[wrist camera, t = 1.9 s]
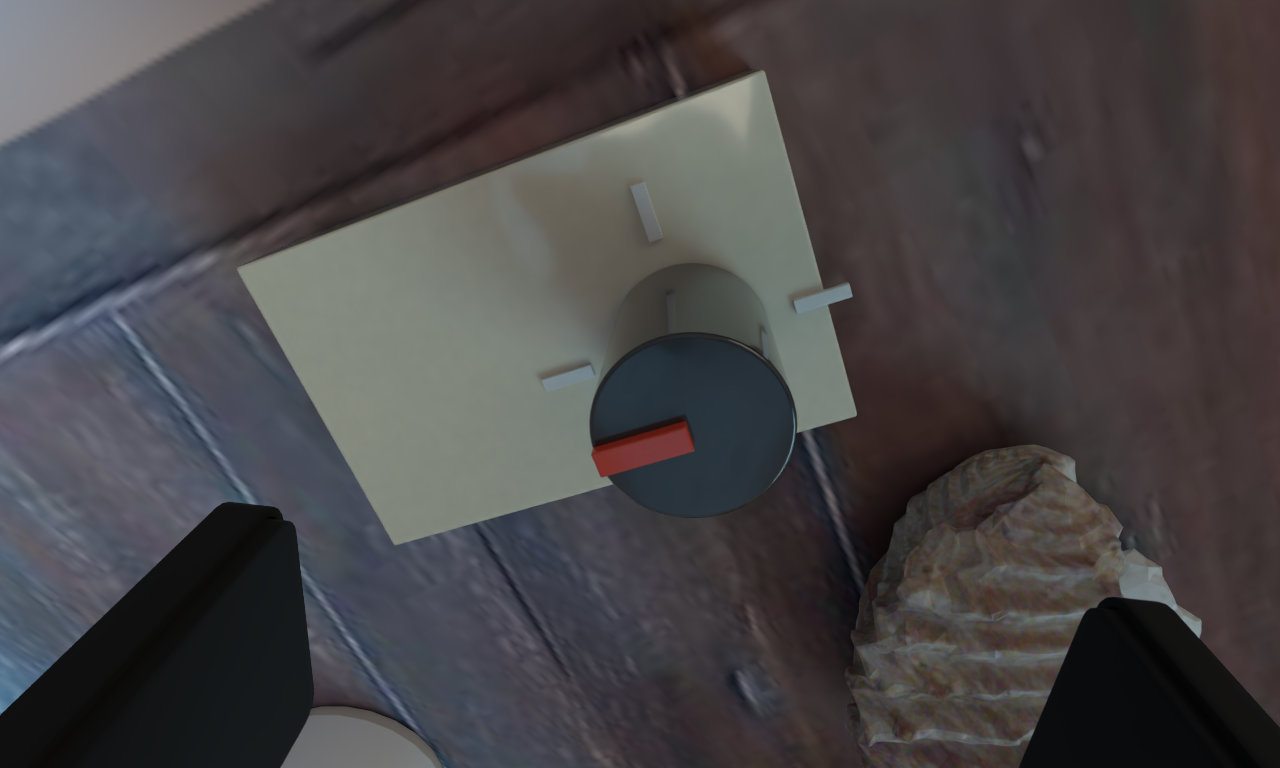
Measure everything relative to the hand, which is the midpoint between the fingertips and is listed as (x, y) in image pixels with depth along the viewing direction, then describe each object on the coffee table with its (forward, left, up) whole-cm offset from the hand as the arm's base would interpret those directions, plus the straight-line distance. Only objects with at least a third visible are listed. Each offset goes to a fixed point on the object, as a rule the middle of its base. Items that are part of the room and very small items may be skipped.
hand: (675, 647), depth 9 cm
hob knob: (0, 0, -11) cm, 11 cm away
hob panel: (+3, +1, -14) cm, 14 cm away
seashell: (-12, +10, -14) cm, 21 cm away
